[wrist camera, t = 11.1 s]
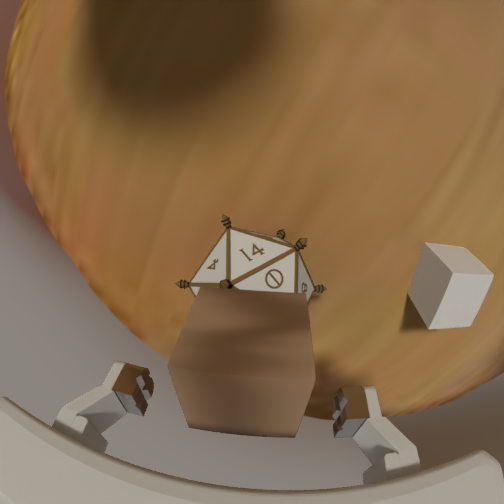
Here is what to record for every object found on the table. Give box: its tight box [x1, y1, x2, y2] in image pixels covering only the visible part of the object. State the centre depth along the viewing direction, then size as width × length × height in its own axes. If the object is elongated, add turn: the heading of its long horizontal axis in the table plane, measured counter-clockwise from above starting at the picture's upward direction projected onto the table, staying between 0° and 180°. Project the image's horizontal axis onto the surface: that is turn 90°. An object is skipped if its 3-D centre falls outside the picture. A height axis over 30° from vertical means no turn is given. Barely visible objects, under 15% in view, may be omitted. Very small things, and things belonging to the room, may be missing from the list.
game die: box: [175, 214, 326, 305], centre depth 17 cm, size 9×8×10 cm
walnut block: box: [168, 286, 316, 438], centre depth 12 cm, size 5×5×5 cm
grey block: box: [407, 242, 494, 329], centre depth 18 cm, size 5×5×5 cm
